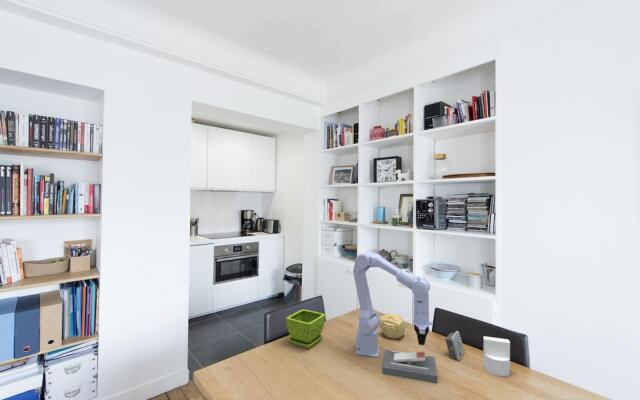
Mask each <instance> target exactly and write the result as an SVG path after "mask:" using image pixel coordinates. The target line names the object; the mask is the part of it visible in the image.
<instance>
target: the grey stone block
mask: <svg viewBox="0 0 640 400" xmlns="http://www.w3.org/2000/svg"><path fill="white" fill-rule="evenodd" d="M445 343H446V346H447V347H446V348H447V350H448V353H449V357H450V359H456V360H457V361H458V362H459V361H461V359H462V358H463V356H464V355H465V353H466V351H465V346H464V344H463V340H462V338H461V334H460V331H459V330H456V331H455V332H450V333H449V334H448V335H447V336H446V337H445Z"/></svg>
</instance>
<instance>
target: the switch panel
mask: <svg viewBox="0 0 640 400" xmlns="http://www.w3.org/2000/svg"><path fill="white" fill-rule="evenodd" d="M409 352H410V351H407V352H404V351H398V350H391V349H385V350H384V355H383V360H382V367H381V368H382V370H381V371H382V372H381V374H382V375H387V376H388V375H389V376H394V377H398V378H399V377H400V378H406V379H411V380H419V381H422V382H423V381H424V382H428V383H429V382H430V383H436V384H438V381H439V380H438V371H437V370H438V369H437V365H436V363H437V361H436V357H435V356H432V355H426V354H425V361H411V360H407V362H394V353H409Z"/></svg>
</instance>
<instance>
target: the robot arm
mask: <svg viewBox="0 0 640 400" xmlns="http://www.w3.org/2000/svg"><path fill="white" fill-rule="evenodd" d="M370 268H380V269H382V270H383V271H385V272H387V273H389V274H390V275H392V276H394V277H395V278H396V282H399V283H400V284H401V285H403V286H405V287H406V288H408V289H409V290H411V292H412V294H413V321H412V322H413V329H414V331H415V334H416V338H417V341H418V345H419V346H425V345H426V339H427V336H428V334H429V332H430V327H429V326H432V325H433V321H430V300H429V296H430V294H429V291H430V290H431V284H430V281H428V280H427V279H426V278H421V277H420V276H417V275H415V274H413V273H411V272H410V269H408V268H407V269H405V268H402V269H400V268H399V267H397V266H396V265H394V264H392V263H391V262H390V261H388V260H387V259H385V258H383V256H381V254H379V253H376V252H375V251H373V250H368V251H366V252H362V253H360V254H358V255H357V256H356V258H354V265H353V269H352V274H353V278H354V282H355V283H354V284H355V288H356V289H355V290H356V292H357V298H358V303H359V308H360V312H359V316H358V319H359V322H358V328H359V329H357V330H356V336H355V354H356V355H361V356H366V357H372V358H378V357H379V352H380V347H379V345H378V344H379V342H378V341H379V340H378V339H379V335H378V334H379V333H378V332H379V331H378V327H380V317H379V315H377V311H376V310H375V308H373V302H372V298H371V294H370V293H371V292H370V288H369V284H368V280H367V279H368V278H367V272H368V271H369V269H370Z"/></svg>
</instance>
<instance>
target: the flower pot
mask: <svg viewBox="0 0 640 400" xmlns="http://www.w3.org/2000/svg"><path fill="white" fill-rule="evenodd" d="M325 319H326V314H325V313H321V312H318V311H313V310H308V309H304V308H303V309H300V310H298V311H296V312H294V313H293V314H290V315H289V316H287V317H286V318H285V322H286V328H287V331H288V333H289V336H290V337H289V338H288V341H289V342H290V343H291V344H293V345H296V346H299V347H303V348H305V349H311V347H312V346H314V345H315V344H317V343H318V342H319V341H321V340H322V339H323V337H324V336H323V335H322V332H323V329H324V327H325V326H324V325H325Z"/></svg>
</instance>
